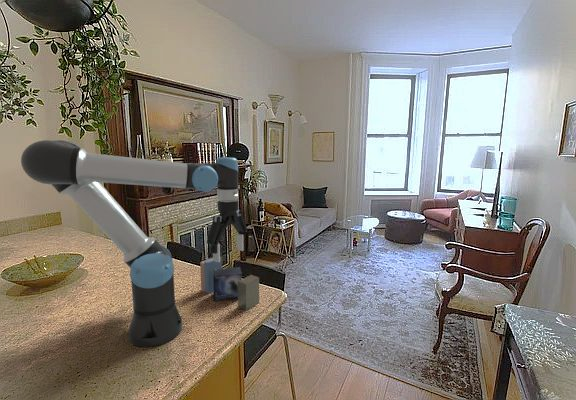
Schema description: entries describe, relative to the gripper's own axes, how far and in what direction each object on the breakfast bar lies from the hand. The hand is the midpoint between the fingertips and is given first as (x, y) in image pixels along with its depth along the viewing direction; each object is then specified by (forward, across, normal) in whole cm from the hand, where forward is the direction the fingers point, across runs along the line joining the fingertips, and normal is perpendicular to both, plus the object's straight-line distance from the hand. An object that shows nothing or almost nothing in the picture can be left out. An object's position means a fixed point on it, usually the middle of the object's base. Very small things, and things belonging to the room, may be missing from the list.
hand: (229, 255), depth 111 cm
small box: (+17, 0, +1) cm, 17 cm away
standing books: (+17, +1, +10) cm, 20 cm away
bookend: (+17, -1, -10) cm, 19 cm away
